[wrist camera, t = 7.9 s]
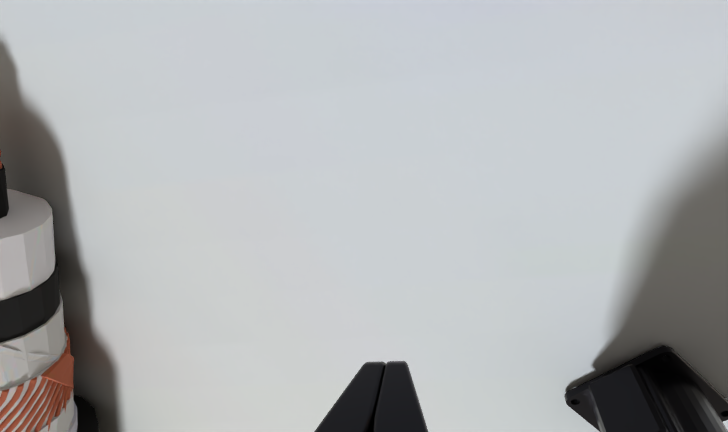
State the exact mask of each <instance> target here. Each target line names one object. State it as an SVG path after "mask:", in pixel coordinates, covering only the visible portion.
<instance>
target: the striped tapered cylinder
mask: <svg viewBox="0 0 728 432" xmlns="http://www.w3.org/2000/svg"><path fill="white" fill-rule="evenodd" d="M0 157H1V150H0ZM73 365H74V357H73V356H71V355H70V339H69V333H67V331H66V327H64V317H63V300H62V296H61V292H60V291H59V276H58V263H57V259H56V257H55V248H54V231H53V215H52V208H51V207H50V205H49V204H48V202H47V201H46V200H45V199H43V198H40V197H37V196H33V195H30V194H26V193H23V192H20V191H16V190H13V189H7V185H6V176H5V168H4V166H3V164H2V163H1V161H0V432H99V429H98V421H97V417H96V413H95V410H94V408H93V407H92V406H91V405H90V404H89V403H88V402H87V401H86V400H85V399H83V398H82V397H80V396H76V395H73V389H74V385H73Z"/></svg>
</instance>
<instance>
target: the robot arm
mask: <svg viewBox="0 0 728 432" xmlns="http://www.w3.org/2000/svg"><path fill="white" fill-rule="evenodd" d="M665 355H666V356H665ZM565 400H566V404H567V405H568V406H569V407H571V408H572V409H573V410H574V411H575V412H577V413H578V414H579V415H580V416H582V417H583V418H584V419H585V420H586V421H588V422H589V423H590V424H591V425H593V426H594V427H595V428H596V429H597V430H599V431H600V432H728V431H727V429H726V427H725V426H724V424H723V421H725V420H728V401H727V400H726V399H725V398H724V397H723V396H722V395H721V394H720V393H719V392H718V391H717V390H716V389H715V388H714V387H712V386H711V385H710V384H709V383H708V382H707V381H706V380H705V379H704V378H703V377H702V376H701V375H700V374H699V373H698V372H696V371H695V370H694V369H693V368H692V367H691V366H690V365H689V364H688V363H687V362H686V361H685V360H684V359H683V358H682V357H680V356H679V355H678V354H677V353H676V352H675V351H674V350H673V349H672V348H670V347H667V346H661V347H658V348H656V349H654V350H652V351H650V352H648V353H646V354H644V355H642V356H639V357H637V358H635V359H633V360H631V361H629V362H627V363H625V364H623V365H621V366H619V367H617V368H615V369H613V370H611V371H609V372H607V373H605V374H603V375H601V376H599V377H597V378H595V379H593V380H591V381H589V382H587V383H585V384H583V385H581V386H579V387H576V388H574V389H572V390H570V391H568V392H567V393H566V394H565ZM315 432H428V430H427V426H426V423H425V420H424V416H423V413H422V410H421V407H420V403H419V400H418V397H417V394H416V390H415V387H414V384H413V381H412V377H411V374H410V371H409V367H408V365H407V363H406V362H405V361H390V362H387V364H386V363H384V362H367V363H365V364H364V365H363V366H362V367H361V369H360V370H359V371H358V373H357V374H356V375H355V377H354V378H353V380H352V381H351V382H350V384H349V385H348V386H347V388H346V389H345V391H344V392H343V393H342V395H341V396H340V397H339V399H338V400H337V402H336V403H335V404H334V406H333V407H332V408H331V410H330V411H329V412H328V414H327V415H326V417H325V418H324V419H323V421H322V422H321V423H320V425H319V426H318V428H317V429H316V430H315Z"/></svg>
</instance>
